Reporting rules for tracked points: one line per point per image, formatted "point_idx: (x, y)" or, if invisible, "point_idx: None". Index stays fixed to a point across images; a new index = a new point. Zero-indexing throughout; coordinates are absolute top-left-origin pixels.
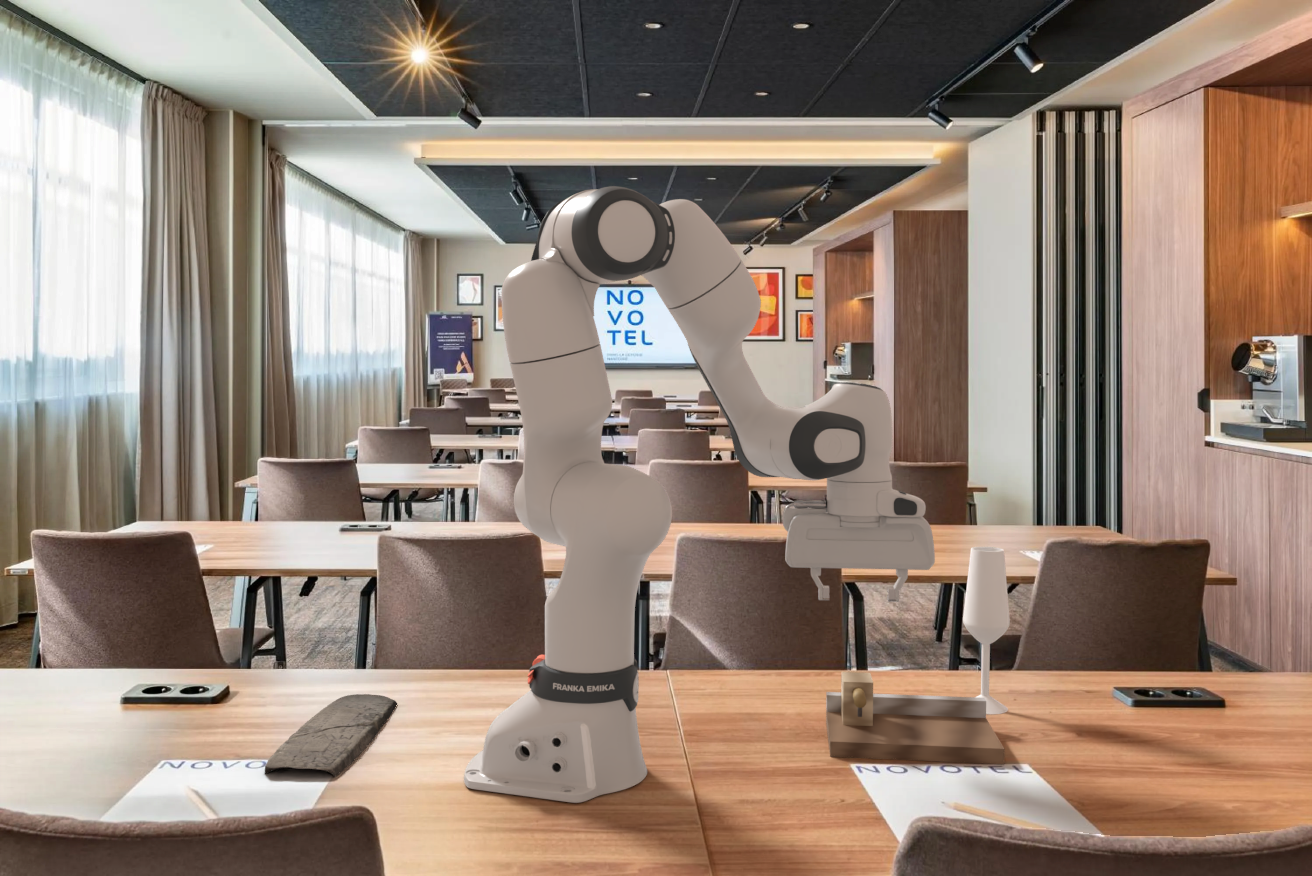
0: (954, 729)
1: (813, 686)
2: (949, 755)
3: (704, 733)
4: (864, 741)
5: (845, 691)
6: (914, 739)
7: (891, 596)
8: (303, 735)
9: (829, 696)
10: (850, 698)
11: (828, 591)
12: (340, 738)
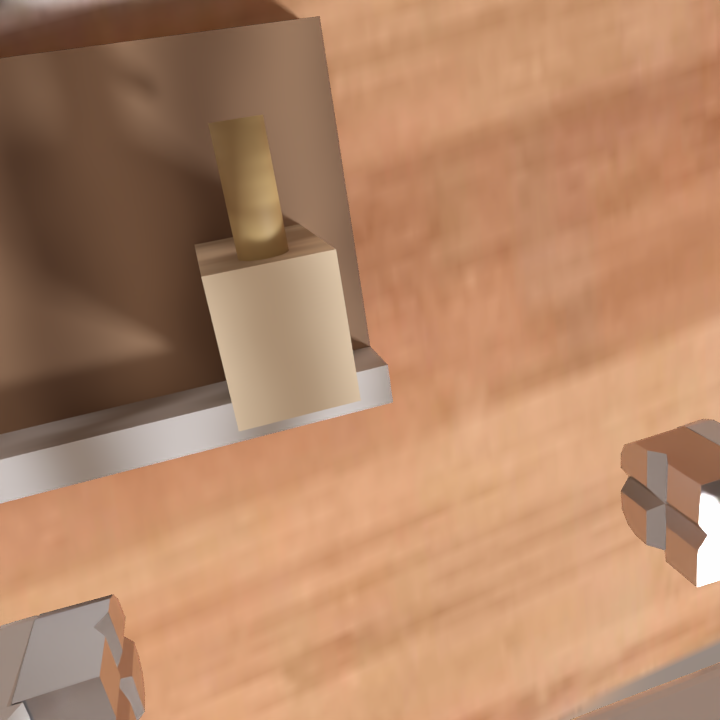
0: None
1: (432, 654)
2: None
3: (687, 144)
4: (196, 51)
5: (317, 244)
6: (6, 130)
7: (74, 627)
8: None
9: (377, 365)
10: (291, 244)
11: (684, 469)
12: None
